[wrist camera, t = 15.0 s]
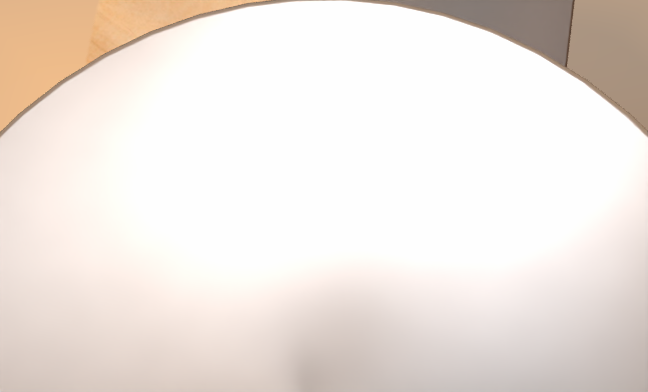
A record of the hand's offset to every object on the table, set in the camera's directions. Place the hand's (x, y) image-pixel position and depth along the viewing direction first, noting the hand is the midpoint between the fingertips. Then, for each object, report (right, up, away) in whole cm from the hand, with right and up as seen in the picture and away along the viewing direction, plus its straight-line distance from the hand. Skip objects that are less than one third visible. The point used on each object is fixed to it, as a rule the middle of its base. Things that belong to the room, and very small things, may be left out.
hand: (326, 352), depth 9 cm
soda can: (0, -3, +6) cm, 7 cm away
